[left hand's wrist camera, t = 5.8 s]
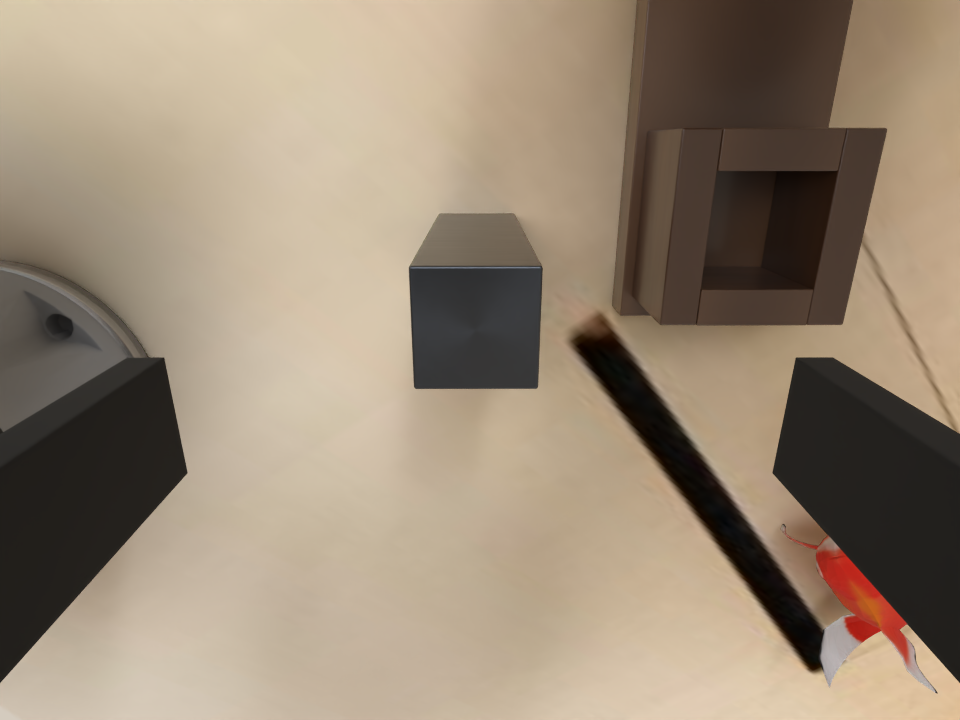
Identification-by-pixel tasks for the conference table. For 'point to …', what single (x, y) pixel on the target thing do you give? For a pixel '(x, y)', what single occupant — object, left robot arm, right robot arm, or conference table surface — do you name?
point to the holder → (740, 166)
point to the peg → (475, 305)
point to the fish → (857, 613)
